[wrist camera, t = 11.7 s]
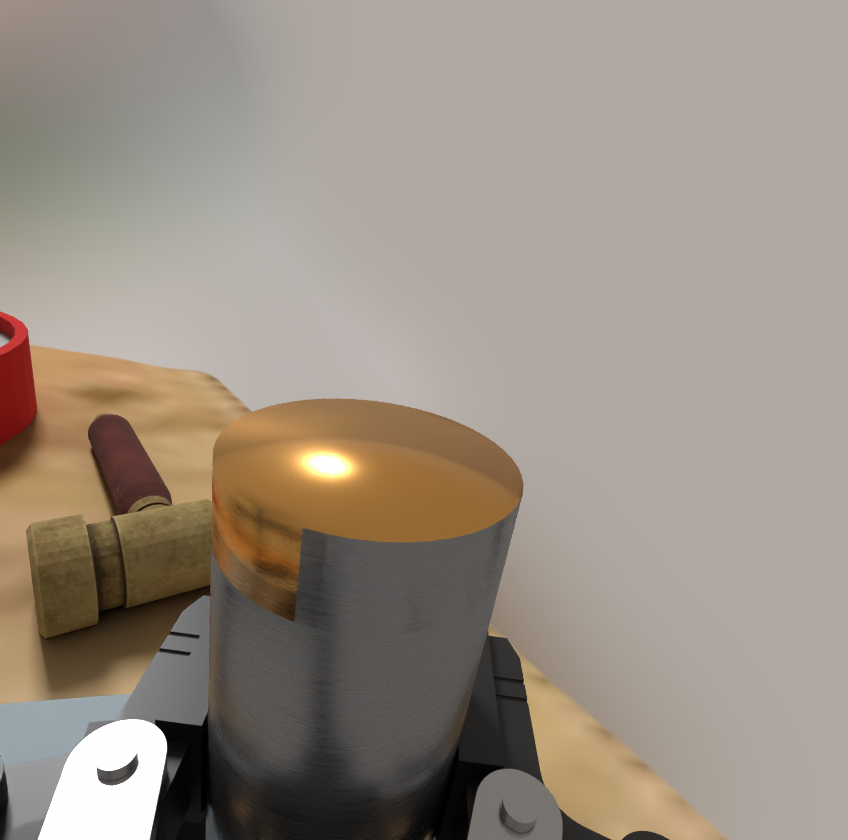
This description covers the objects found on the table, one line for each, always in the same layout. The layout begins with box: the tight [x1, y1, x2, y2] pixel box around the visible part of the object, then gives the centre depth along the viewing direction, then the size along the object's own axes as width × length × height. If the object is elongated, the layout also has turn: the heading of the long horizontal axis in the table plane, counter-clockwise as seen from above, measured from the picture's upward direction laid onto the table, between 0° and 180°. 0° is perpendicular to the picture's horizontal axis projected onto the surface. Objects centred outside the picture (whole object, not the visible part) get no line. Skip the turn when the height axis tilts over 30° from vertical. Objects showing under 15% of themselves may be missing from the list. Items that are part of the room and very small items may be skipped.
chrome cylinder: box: [206, 399, 523, 840], centre depth 10 cm, size 4×4×14 cm
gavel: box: [26, 412, 212, 638], centre depth 31 cm, size 21×5×10 cm
